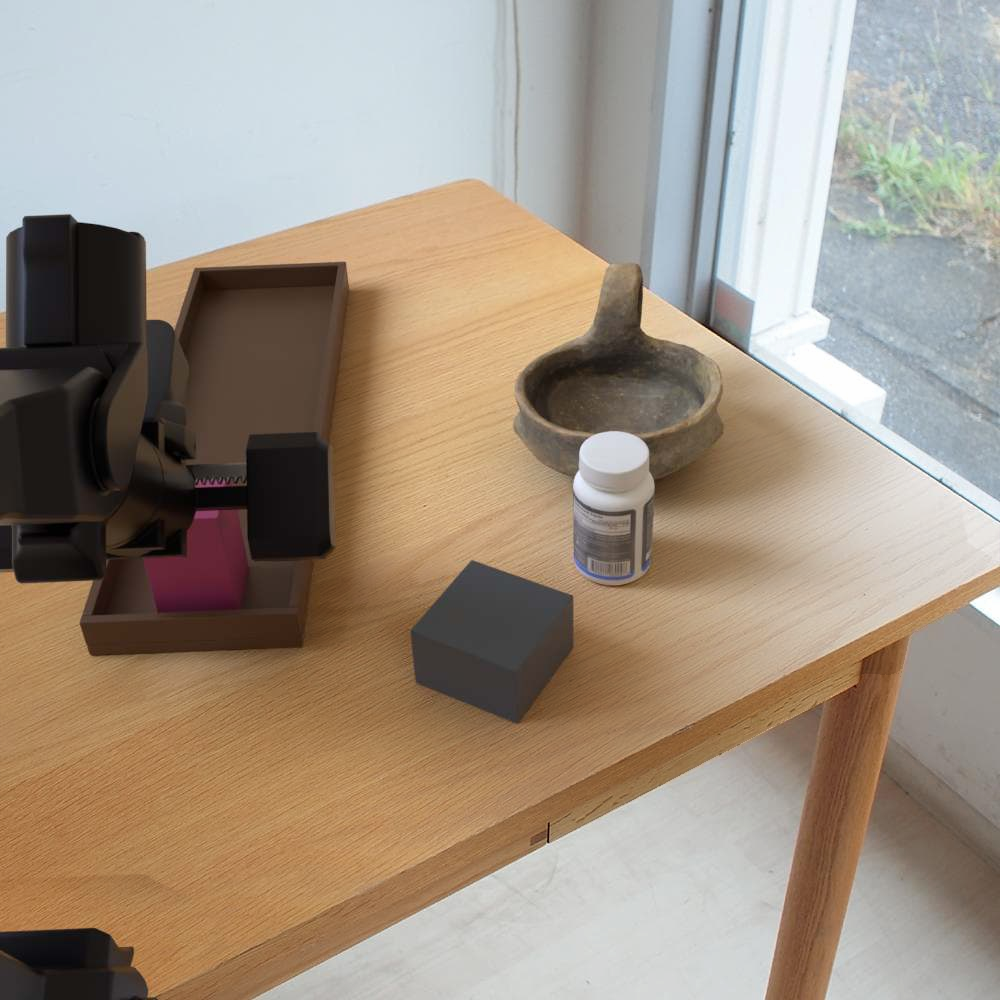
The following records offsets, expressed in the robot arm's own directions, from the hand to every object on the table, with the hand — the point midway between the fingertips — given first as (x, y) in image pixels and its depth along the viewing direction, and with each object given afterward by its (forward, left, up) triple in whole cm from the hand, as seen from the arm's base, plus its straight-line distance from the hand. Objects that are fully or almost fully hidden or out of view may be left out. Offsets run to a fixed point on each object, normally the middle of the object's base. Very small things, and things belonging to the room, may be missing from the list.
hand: (184, 521), depth 74 cm
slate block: (+6, -17, -7) cm, 19 cm away
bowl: (+28, -12, -7) cm, 31 cm away
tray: (+14, +10, -7) cm, 19 cm away
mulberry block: (+1, 0, -6) cm, 6 cm away
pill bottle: (+17, -18, -7) cm, 25 cm away
